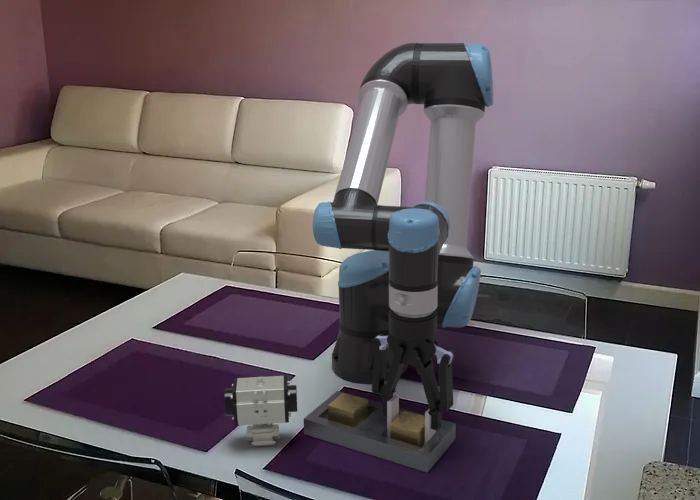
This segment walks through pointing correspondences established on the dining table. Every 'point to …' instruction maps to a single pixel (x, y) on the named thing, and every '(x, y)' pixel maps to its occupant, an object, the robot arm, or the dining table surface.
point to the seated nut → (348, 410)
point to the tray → (379, 436)
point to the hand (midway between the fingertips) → (411, 438)
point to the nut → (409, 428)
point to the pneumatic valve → (261, 406)
